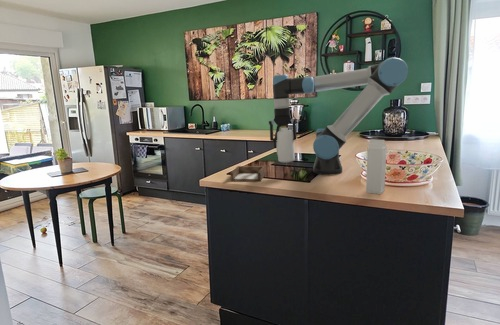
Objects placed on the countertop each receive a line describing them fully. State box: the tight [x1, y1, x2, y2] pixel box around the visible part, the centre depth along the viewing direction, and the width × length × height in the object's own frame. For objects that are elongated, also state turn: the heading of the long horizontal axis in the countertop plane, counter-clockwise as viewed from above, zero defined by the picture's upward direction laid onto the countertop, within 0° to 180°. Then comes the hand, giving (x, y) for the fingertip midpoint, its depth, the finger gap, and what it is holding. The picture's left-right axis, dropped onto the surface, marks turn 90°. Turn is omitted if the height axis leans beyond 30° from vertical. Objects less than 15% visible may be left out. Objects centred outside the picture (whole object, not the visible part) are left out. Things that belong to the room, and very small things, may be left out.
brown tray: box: [230, 165, 266, 183], centre depth 163 cm, size 15×14×4 cm
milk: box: [365, 138, 387, 195], centre depth 130 cm, size 6×6×22 cm
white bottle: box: [277, 124, 296, 163], centre depth 157 cm, size 8×8×18 cm
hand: (284, 154), depth 159 cm, fingers open, 5 cm apart
